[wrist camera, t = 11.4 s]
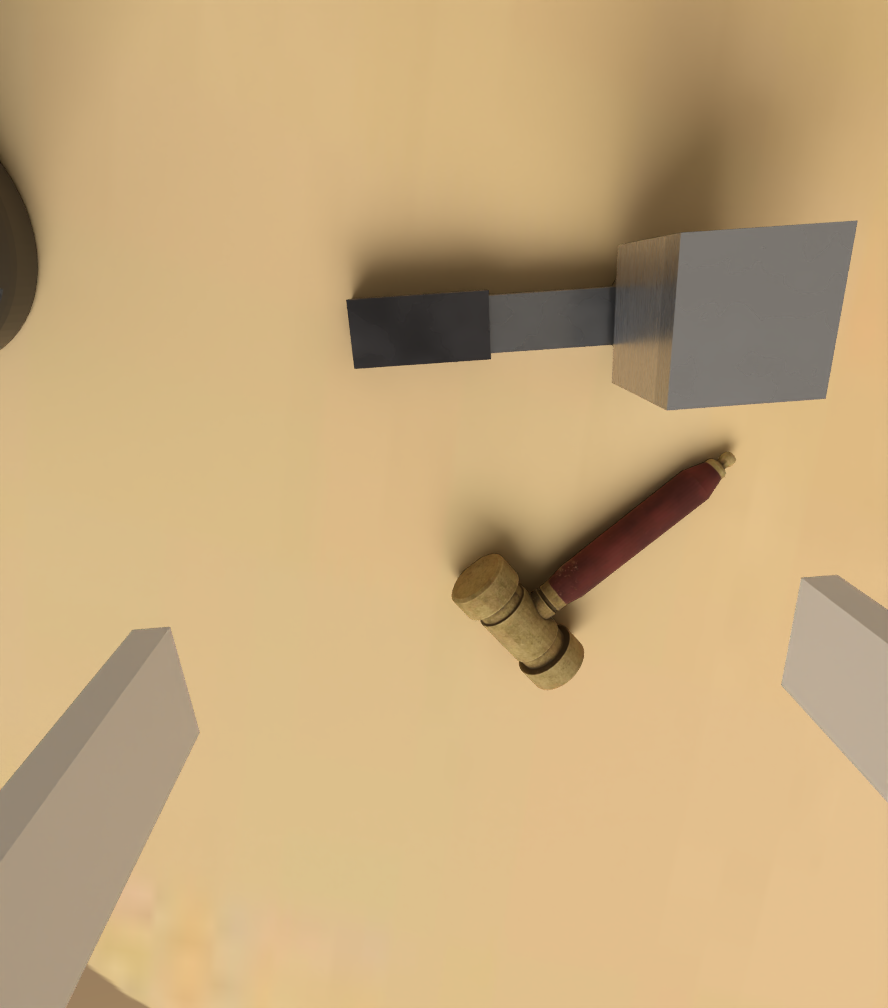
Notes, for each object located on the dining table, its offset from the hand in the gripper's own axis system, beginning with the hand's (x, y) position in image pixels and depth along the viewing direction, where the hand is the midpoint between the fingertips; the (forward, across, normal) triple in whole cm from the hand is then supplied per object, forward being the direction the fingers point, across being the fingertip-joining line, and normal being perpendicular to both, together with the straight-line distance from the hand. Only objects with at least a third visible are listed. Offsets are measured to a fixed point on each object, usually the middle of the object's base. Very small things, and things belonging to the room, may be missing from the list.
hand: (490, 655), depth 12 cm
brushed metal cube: (+24, +14, +5) cm, 28 cm away
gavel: (+27, +11, -11) cm, 31 cm away
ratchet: (+27, +6, +5) cm, 28 cm away
